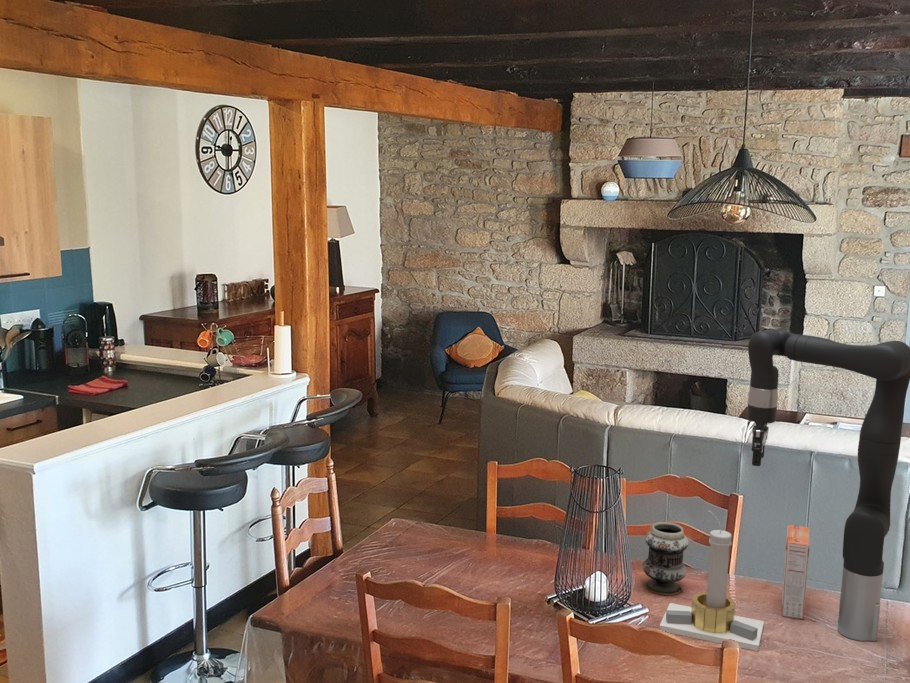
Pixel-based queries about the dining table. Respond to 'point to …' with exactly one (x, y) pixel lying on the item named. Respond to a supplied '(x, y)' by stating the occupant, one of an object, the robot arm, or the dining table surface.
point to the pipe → (718, 567)
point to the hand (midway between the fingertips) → (757, 461)
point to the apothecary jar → (665, 558)
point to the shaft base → (740, 631)
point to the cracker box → (795, 572)
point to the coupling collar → (712, 614)
